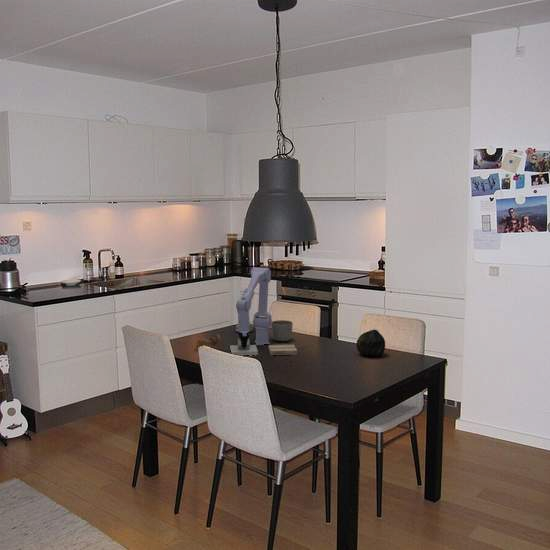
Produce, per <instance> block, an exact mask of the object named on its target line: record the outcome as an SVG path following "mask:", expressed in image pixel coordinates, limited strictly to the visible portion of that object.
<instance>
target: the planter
mask: <svg viewBox="0 0 550 550" xmlns="http://www.w3.org/2000/svg"><path fill="white" fill-rule="evenodd" d="M270 329H271V336H272V339H273V340H274V341H276V342H278V341H286V342H289V341H290V340H291V338H292V335H293V321H291V320H287V319H286V320H284V319H283V320H282V319H281V320H279V319H277V320H272V325H271V327H270Z"/></svg>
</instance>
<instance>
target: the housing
mask: <svg viewBox="0 0 550 550" xmlns="http://www.w3.org/2000/svg"><path fill="white" fill-rule="evenodd" d="M250 342H251V341H250V337H249V338H248V341H247V346H246V348H242V345H241V339H240V338H237V345H238V350H245V349H250V345H251V344H250Z"/></svg>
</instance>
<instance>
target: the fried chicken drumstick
mask: <svg viewBox="0 0 550 550" xmlns="http://www.w3.org/2000/svg"><path fill="white" fill-rule="evenodd" d="M221 341H222V338H221V335H220V334H214V335H213V336H212V337H210V338H209V339H205V338H200V339H198V340H197V342H196V347H195V348H194V351H196V350H197V351H199V350H198V347H199V346H202V347H203V346H205V347H210V348H211V349H212V348H214V349H215V347H216V346H217V347H218V345H219V344H220V342H221ZM199 348H200V347H199Z"/></svg>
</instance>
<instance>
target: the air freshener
mask: <svg viewBox="0 0 550 550" xmlns="http://www.w3.org/2000/svg"><path fill="white" fill-rule="evenodd" d="M236 329H238V323H237V324H236V325H235V330H236ZM253 329H254V325H253V323H252V322H250V321H249V333H250V332H252V331H253Z"/></svg>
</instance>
